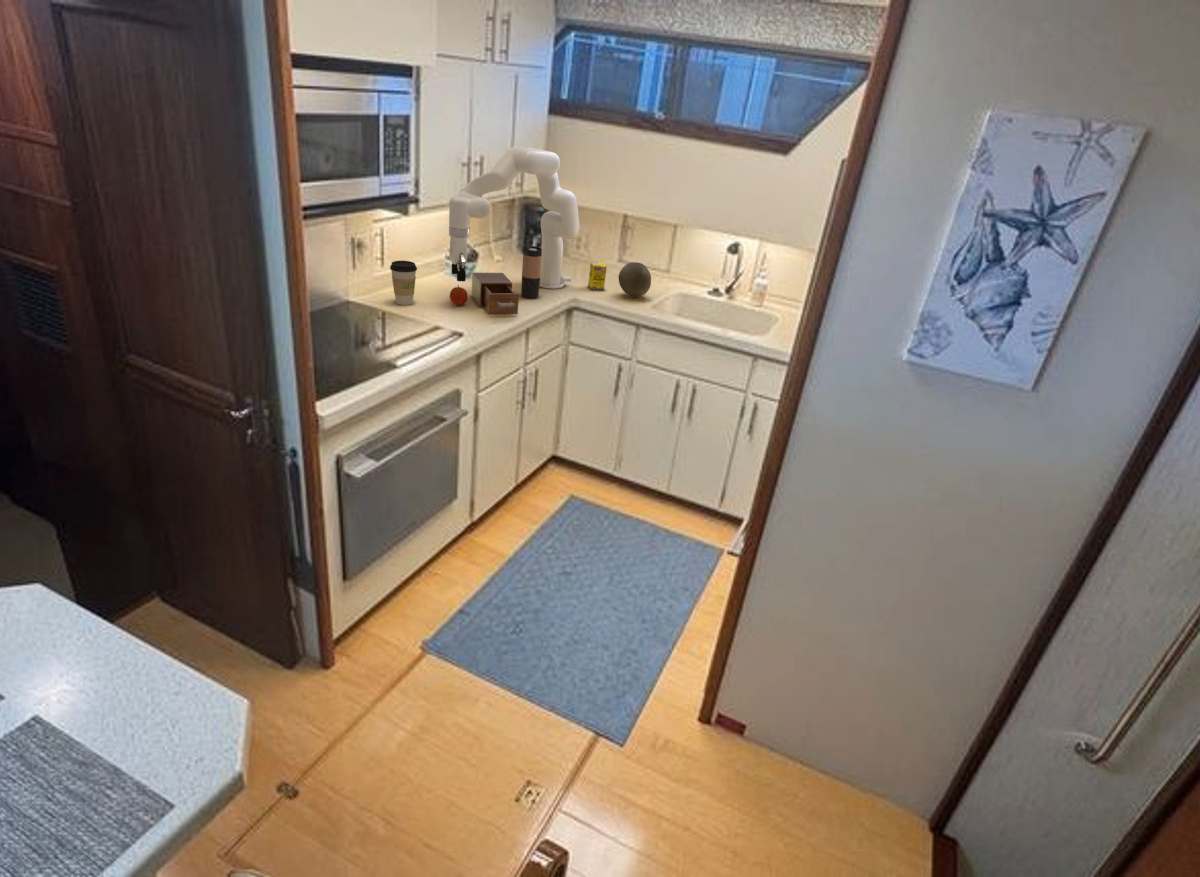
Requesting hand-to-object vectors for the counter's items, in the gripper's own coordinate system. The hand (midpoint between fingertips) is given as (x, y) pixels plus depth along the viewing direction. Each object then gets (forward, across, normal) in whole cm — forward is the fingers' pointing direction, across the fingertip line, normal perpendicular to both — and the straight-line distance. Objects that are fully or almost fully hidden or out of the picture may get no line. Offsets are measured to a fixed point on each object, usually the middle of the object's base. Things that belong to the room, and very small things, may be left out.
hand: (458, 277), depth 264 cm
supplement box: (+10, -20, +66) cm, 70 cm away
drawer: (+10, +10, +14) cm, 20 cm away
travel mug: (+11, -10, +32) cm, 36 cm away
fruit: (+11, 0, 0) cm, 11 cm away
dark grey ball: (+10, -8, +79) cm, 80 cm away
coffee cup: (+11, -4, -20) cm, 23 cm away
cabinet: (+11, -4, +14) cm, 18 cm away
